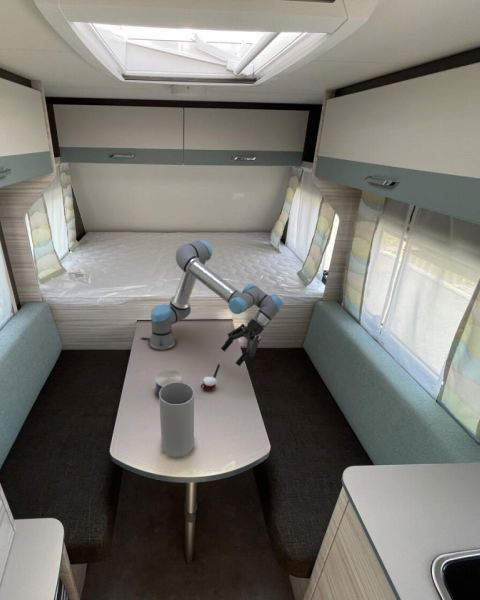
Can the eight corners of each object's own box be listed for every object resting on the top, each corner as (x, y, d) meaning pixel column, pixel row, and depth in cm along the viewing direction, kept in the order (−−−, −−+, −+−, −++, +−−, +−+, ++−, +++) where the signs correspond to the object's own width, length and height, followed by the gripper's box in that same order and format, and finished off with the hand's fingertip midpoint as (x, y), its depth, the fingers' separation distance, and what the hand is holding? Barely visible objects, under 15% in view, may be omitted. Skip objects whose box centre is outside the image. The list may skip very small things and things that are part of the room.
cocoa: (201, 393, 154) (201, 372, 149) (199, 384, 160) (199, 364, 155) (221, 391, 155) (222, 370, 150) (218, 383, 161) (219, 363, 156)
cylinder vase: (198, 452, 123) (199, 400, 113) (166, 462, 119) (164, 408, 109) (187, 428, 134) (187, 379, 124) (158, 436, 130) (155, 386, 120)
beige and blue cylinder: (150, 391, 155) (149, 377, 152) (170, 380, 163) (169, 366, 160) (167, 404, 147) (167, 390, 144) (187, 391, 155) (187, 378, 152)
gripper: (279, 338, 147) (248, 374, 147) (248, 316, 168) (221, 347, 168) (270, 330, 143) (239, 367, 143) (239, 308, 163) (212, 341, 164)
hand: (229, 357), depth 155 cm, fingers open, 13 cm apart
